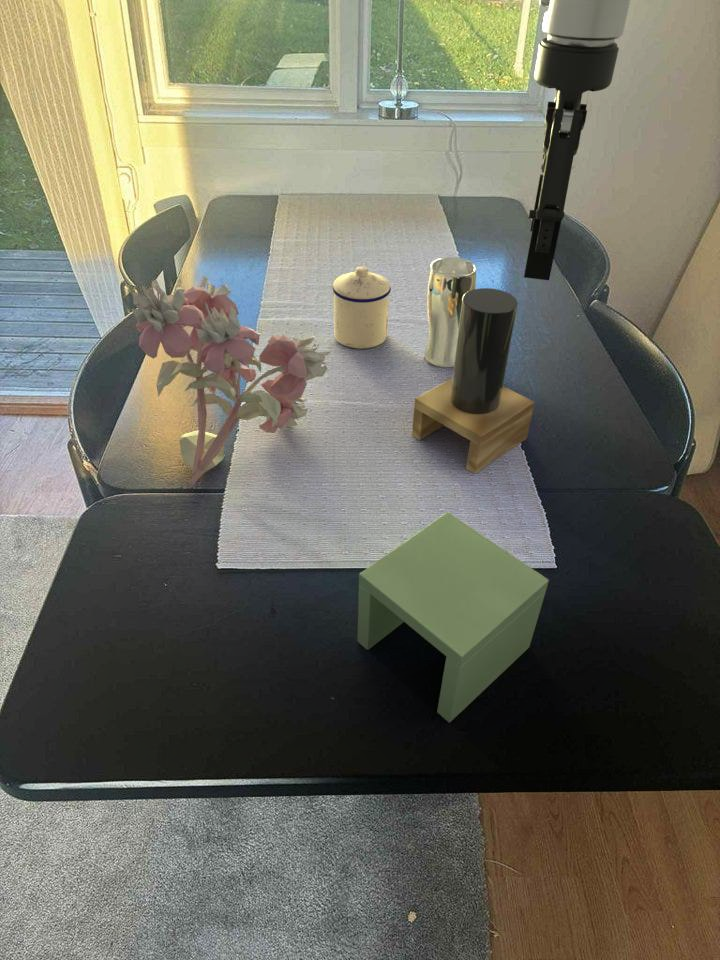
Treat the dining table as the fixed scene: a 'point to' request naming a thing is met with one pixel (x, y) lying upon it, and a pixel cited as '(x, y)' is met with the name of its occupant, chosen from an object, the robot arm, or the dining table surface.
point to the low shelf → (475, 423)
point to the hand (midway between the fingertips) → (539, 253)
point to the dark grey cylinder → (482, 349)
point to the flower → (223, 364)
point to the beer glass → (446, 306)
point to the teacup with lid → (361, 308)
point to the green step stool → (454, 604)
